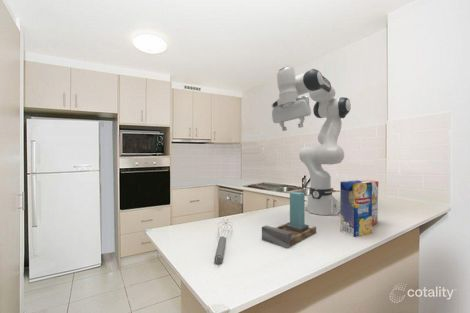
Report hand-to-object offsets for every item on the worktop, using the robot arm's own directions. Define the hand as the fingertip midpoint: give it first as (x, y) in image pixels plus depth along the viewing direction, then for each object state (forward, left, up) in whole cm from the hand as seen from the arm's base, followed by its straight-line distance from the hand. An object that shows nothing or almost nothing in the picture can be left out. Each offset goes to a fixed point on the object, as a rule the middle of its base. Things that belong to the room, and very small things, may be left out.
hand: (292, 129), depth 109 cm
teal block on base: (+9, +8, -45) cm, 46 cm away
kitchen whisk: (+40, -5, -47) cm, 62 cm away
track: (+14, +8, -46) cm, 49 cm away
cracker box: (-24, +26, -47) cm, 58 cm away
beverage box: (-9, +26, -47) cm, 54 cm away
